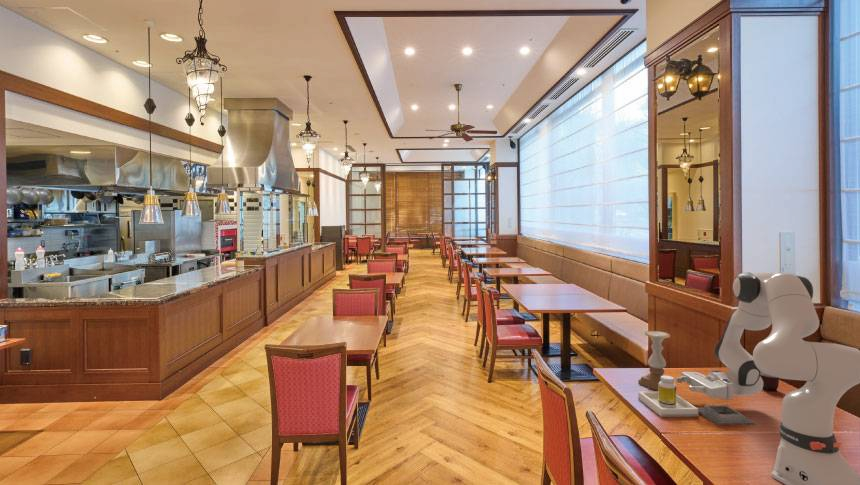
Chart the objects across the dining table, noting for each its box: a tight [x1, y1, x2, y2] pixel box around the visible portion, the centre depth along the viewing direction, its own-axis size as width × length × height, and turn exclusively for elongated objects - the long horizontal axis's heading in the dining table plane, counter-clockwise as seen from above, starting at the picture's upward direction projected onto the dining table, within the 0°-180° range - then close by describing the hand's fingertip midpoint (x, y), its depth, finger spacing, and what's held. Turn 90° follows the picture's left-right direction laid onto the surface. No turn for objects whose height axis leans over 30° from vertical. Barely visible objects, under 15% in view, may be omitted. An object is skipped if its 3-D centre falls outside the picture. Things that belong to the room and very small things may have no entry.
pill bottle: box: [658, 374, 677, 407], centre depth 176 cm, size 6×6×11 cm
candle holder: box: [637, 330, 676, 391], centre depth 200 cm, size 11×11×24 cm
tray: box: [638, 390, 699, 418], centre depth 177 cm, size 18×14×3 cm
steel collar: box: [697, 404, 756, 426], centre depth 168 cm, size 14×14×2 cm
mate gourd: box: [760, 372, 780, 393], centre depth 195 cm, size 8×8×15 cm
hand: (683, 384), depth 176 cm, fingers open, 8 cm apart
